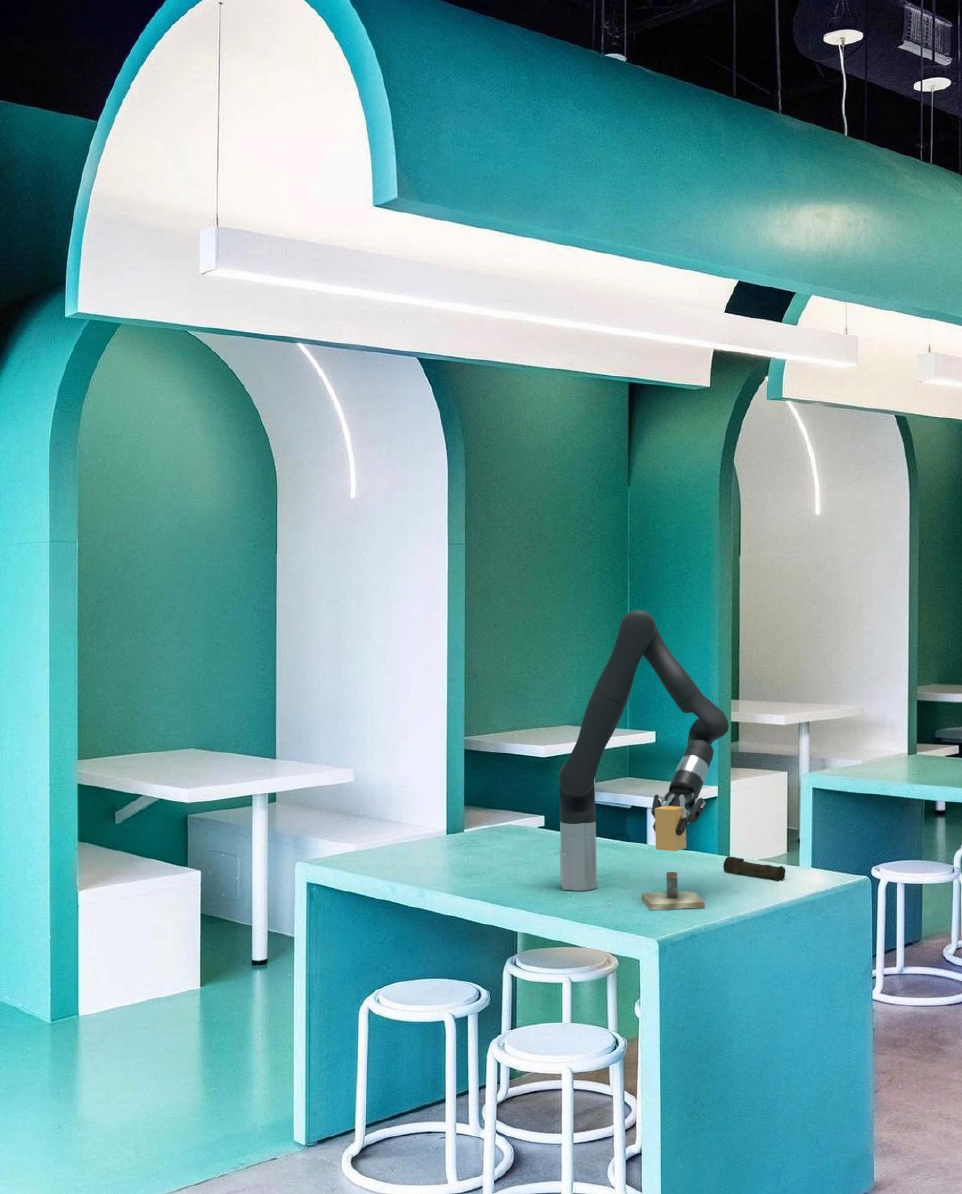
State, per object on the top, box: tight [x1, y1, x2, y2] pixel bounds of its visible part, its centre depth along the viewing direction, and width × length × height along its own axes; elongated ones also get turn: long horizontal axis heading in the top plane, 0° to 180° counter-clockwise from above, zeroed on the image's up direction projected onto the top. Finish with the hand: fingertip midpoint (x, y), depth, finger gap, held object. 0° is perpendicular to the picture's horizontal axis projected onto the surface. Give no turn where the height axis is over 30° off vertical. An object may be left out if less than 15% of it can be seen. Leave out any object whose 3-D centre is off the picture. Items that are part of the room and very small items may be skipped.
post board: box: [641, 871, 706, 911], centre depth 338 cm, size 13×13×8 cm
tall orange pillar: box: [654, 806, 687, 852], centre depth 338 cm, size 5×5×10 cm
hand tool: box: [723, 856, 786, 882], centre depth 370 cm, size 19×4×5 cm, turn 41°
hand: (667, 832), depth 336 cm, fingers closed on tall orange pillar, 5 cm apart
